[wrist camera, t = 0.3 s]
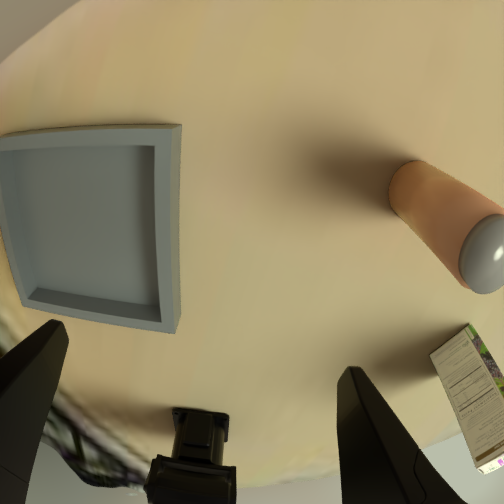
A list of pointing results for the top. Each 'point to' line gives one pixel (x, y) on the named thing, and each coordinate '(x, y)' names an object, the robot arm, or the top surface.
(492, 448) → the syrup box
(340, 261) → the top surface
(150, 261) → the tray
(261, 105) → the top surface
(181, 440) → the robot arm
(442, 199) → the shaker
